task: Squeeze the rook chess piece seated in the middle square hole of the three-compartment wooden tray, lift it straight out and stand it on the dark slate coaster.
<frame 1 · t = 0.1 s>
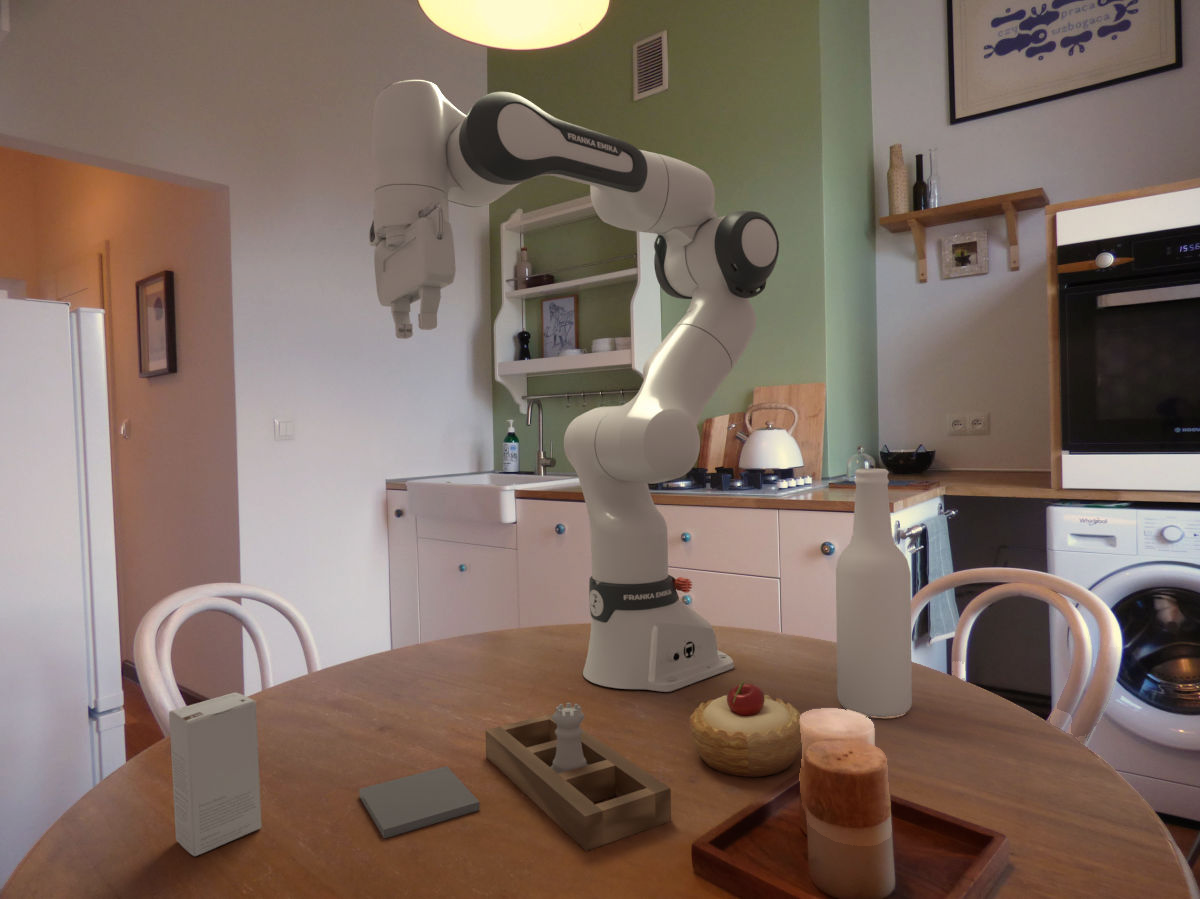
hand: (415, 333, 92), 48 cm above the table, tool pointing down, fingers open, 8 cm apart
coaster: (418, 803, 73), on the table
skincare box: (218, 839, 67), on the table
alcohol: (874, 708, 95), on the table
pastry: (746, 760, 81), on the table
three-compartment wooden tray: (570, 785, 76), on the table
rook chess piece: (570, 788, 76), resting in three-compartment wooden tray
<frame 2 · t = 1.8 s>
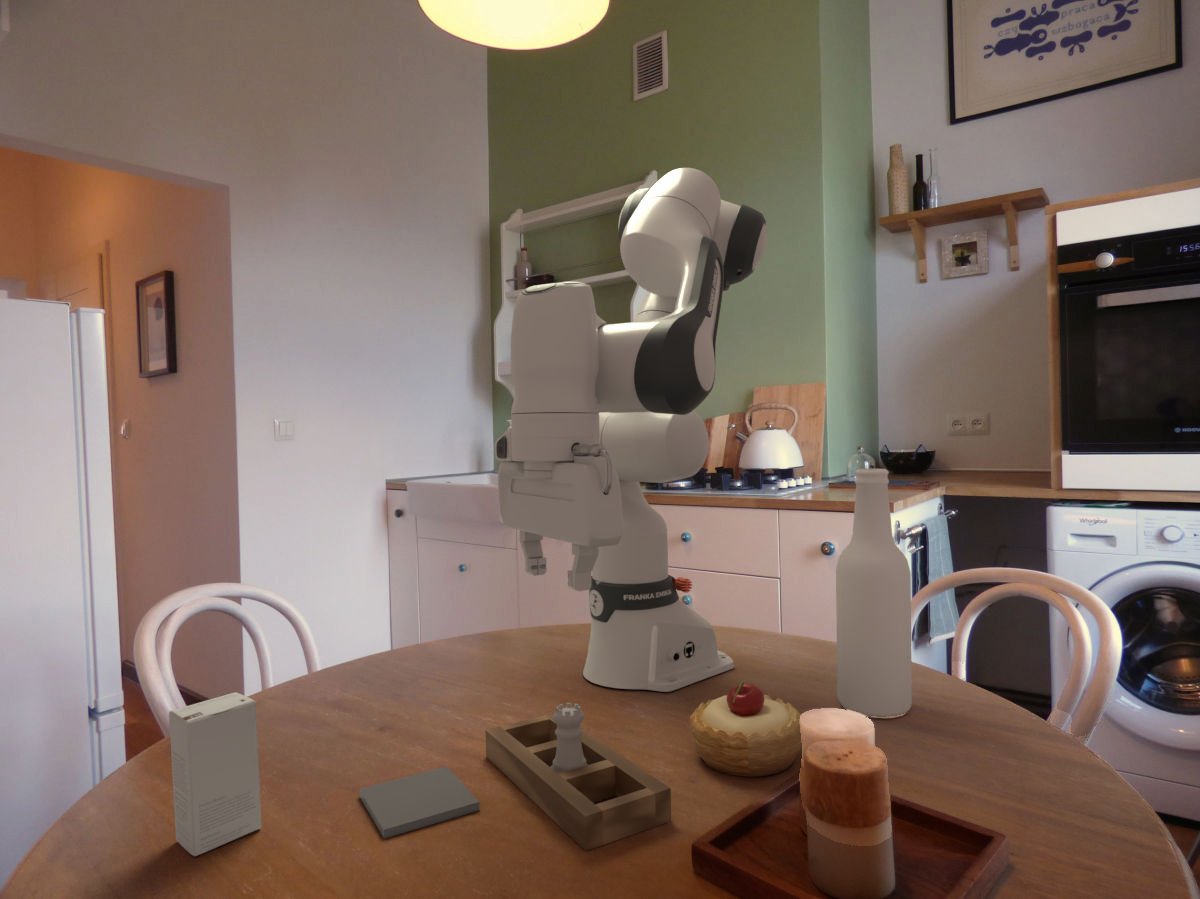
hand: (556, 581, 75), 21 cm above the table, tool pointing down, fingers open, 8 cm apart
nothing on the table moved.
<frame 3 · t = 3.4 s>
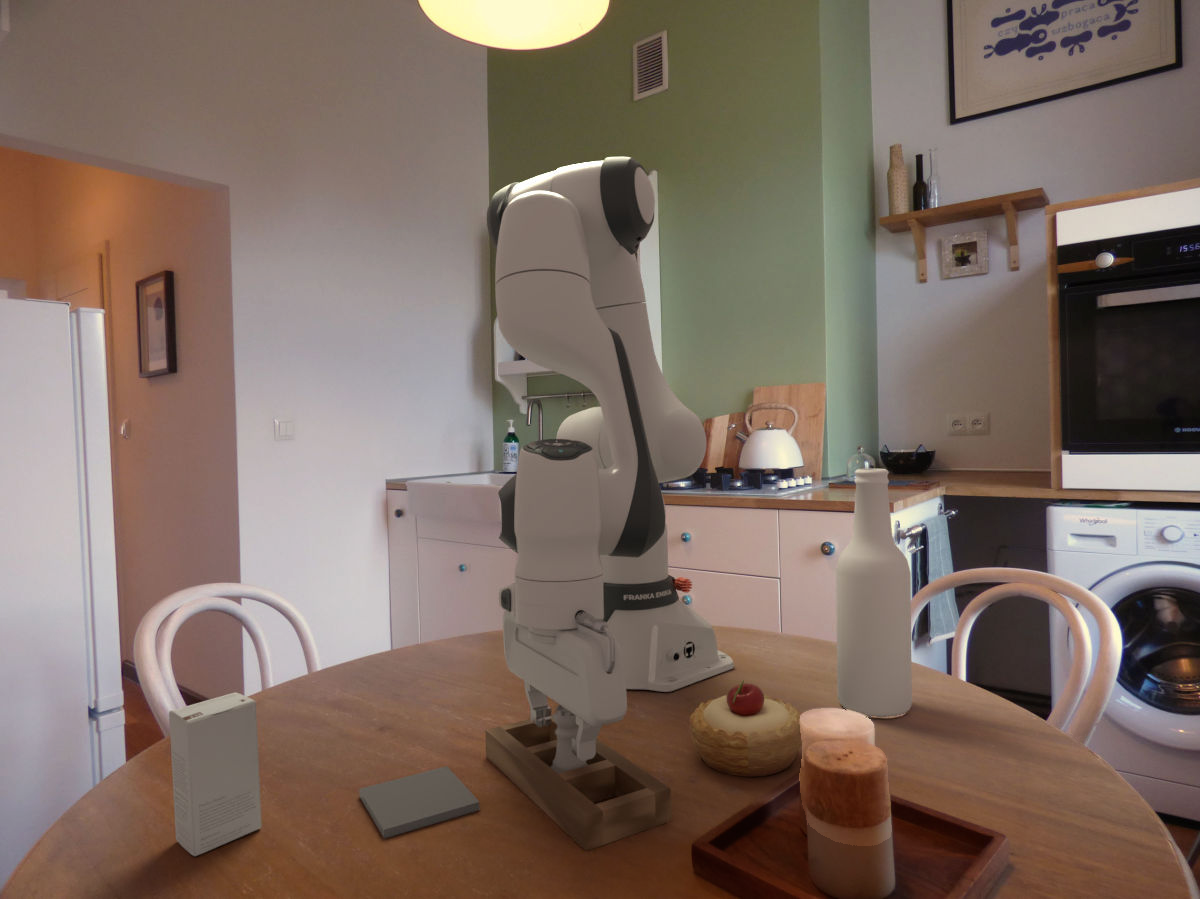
hand: (561, 739, 75), 5 cm above the table, tool pointing down, fingers open, 8 cm apart
nothing on the table moved.
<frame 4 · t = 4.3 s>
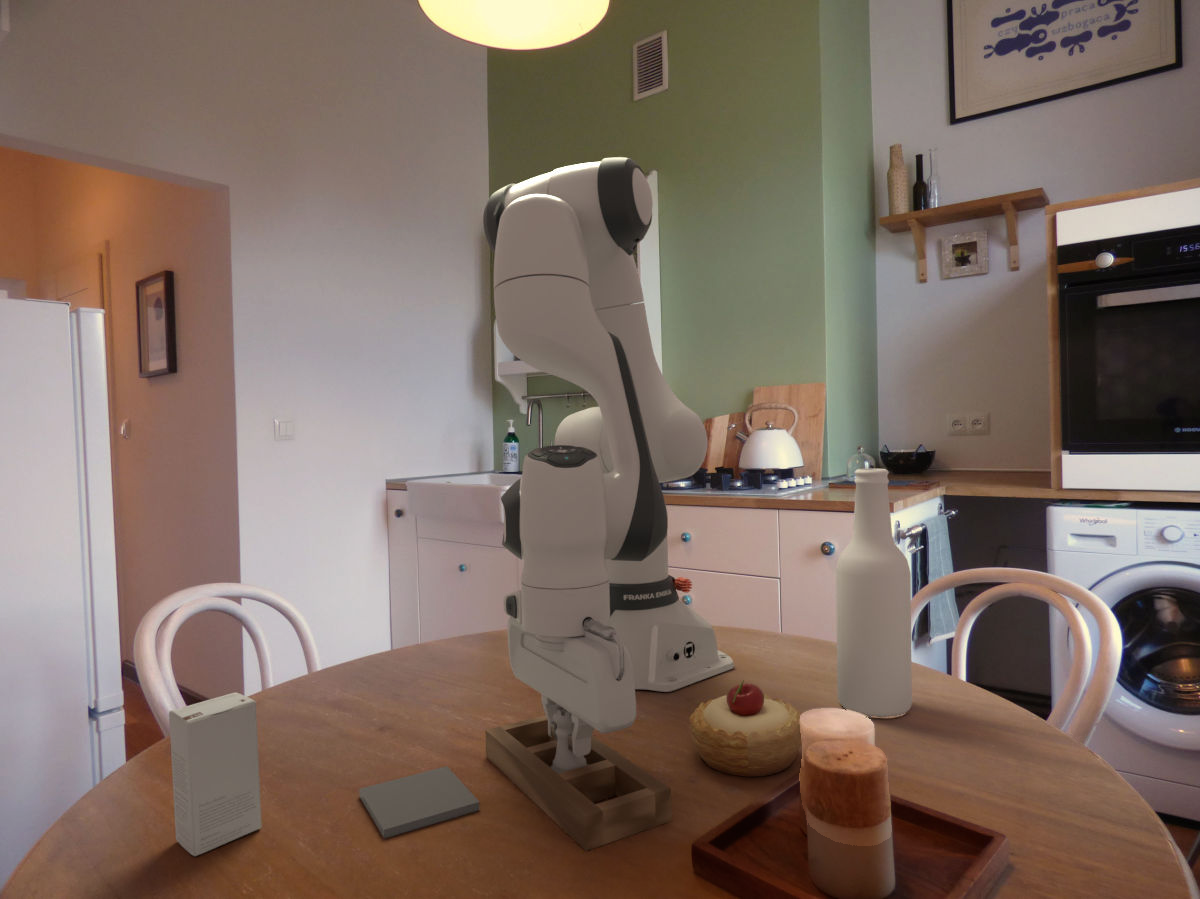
hand: (569, 745, 76), 4 cm above the table, tool pointing down, fingers closed on rook chess piece, 3 cm apart
rook chess piece: (570, 787, 76), resting in three-compartment wooden tray, touching gripper
everything else where it was.
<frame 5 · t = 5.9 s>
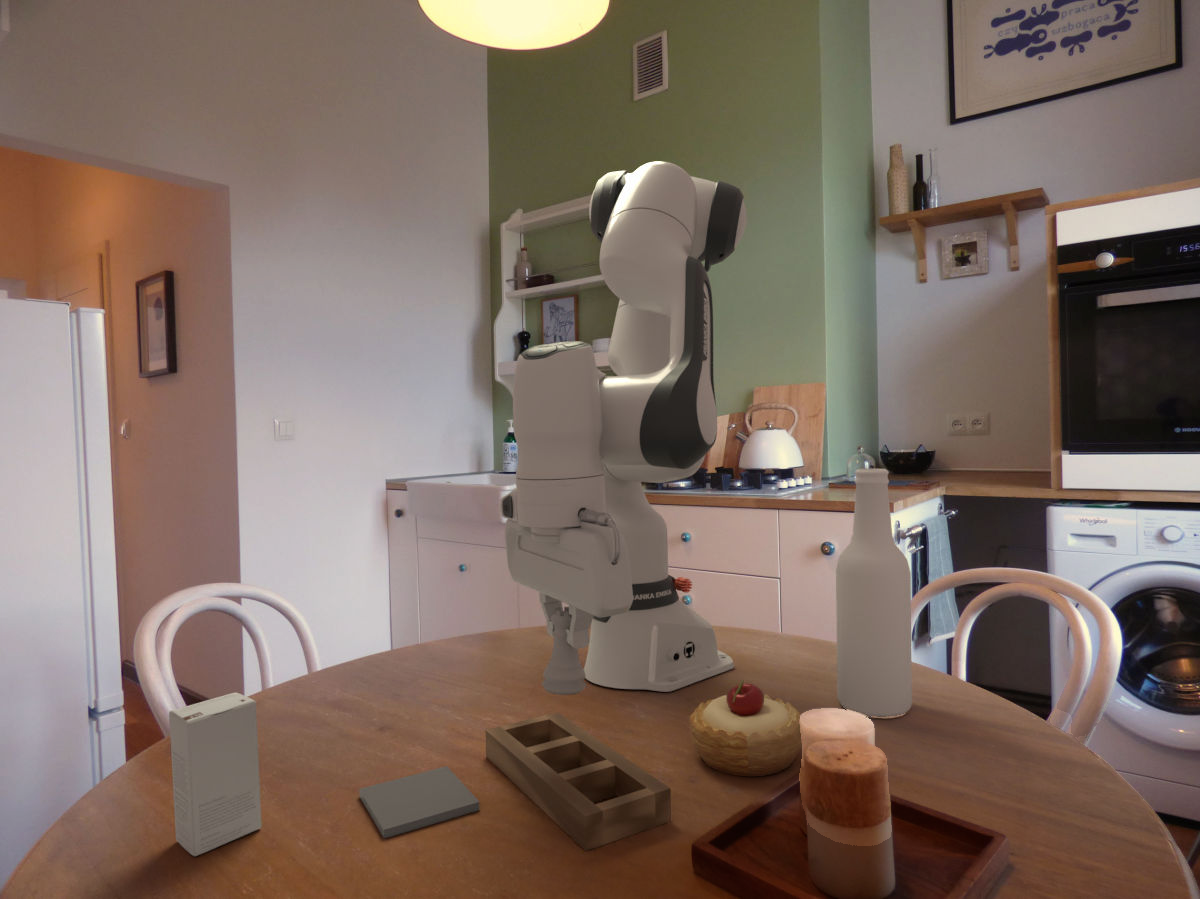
hand: (567, 641, 76), 15 cm above the table, tool pointing down, fingers closed on rook chess piece, 3 cm apart
rook chess piece: (563, 690, 76), point 10 cm above the table, touching gripper
everything else where it was.
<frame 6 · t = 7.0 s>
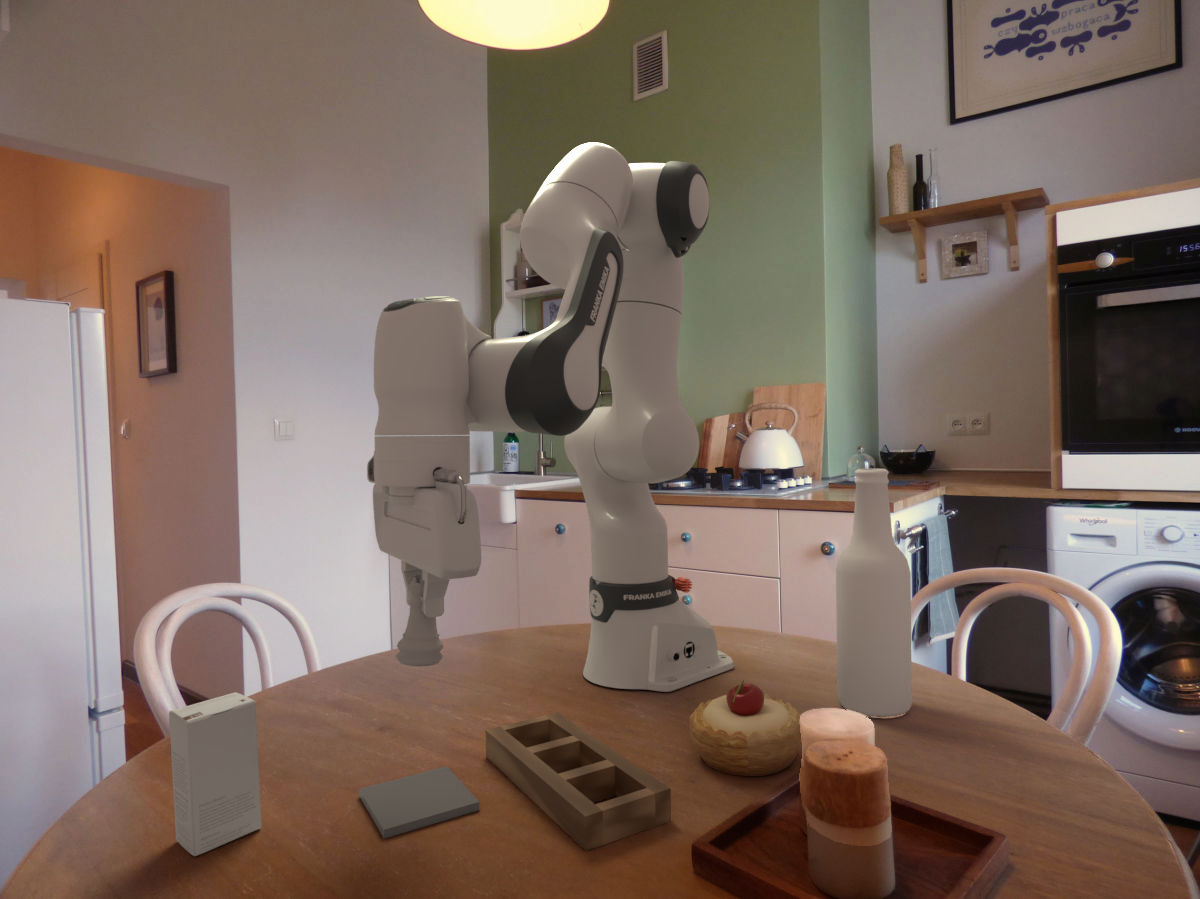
hand: (424, 611, 72), 19 cm above the table, tool pointing down, fingers closed on rook chess piece, 3 cm apart
rook chess piece: (419, 663, 72), point 14 cm above the table, touching gripper
everything else where it was.
when the fingers open (7 cm above the table, at t = 9.9 s): rook chess piece drops 1 cm, resting on coaster.
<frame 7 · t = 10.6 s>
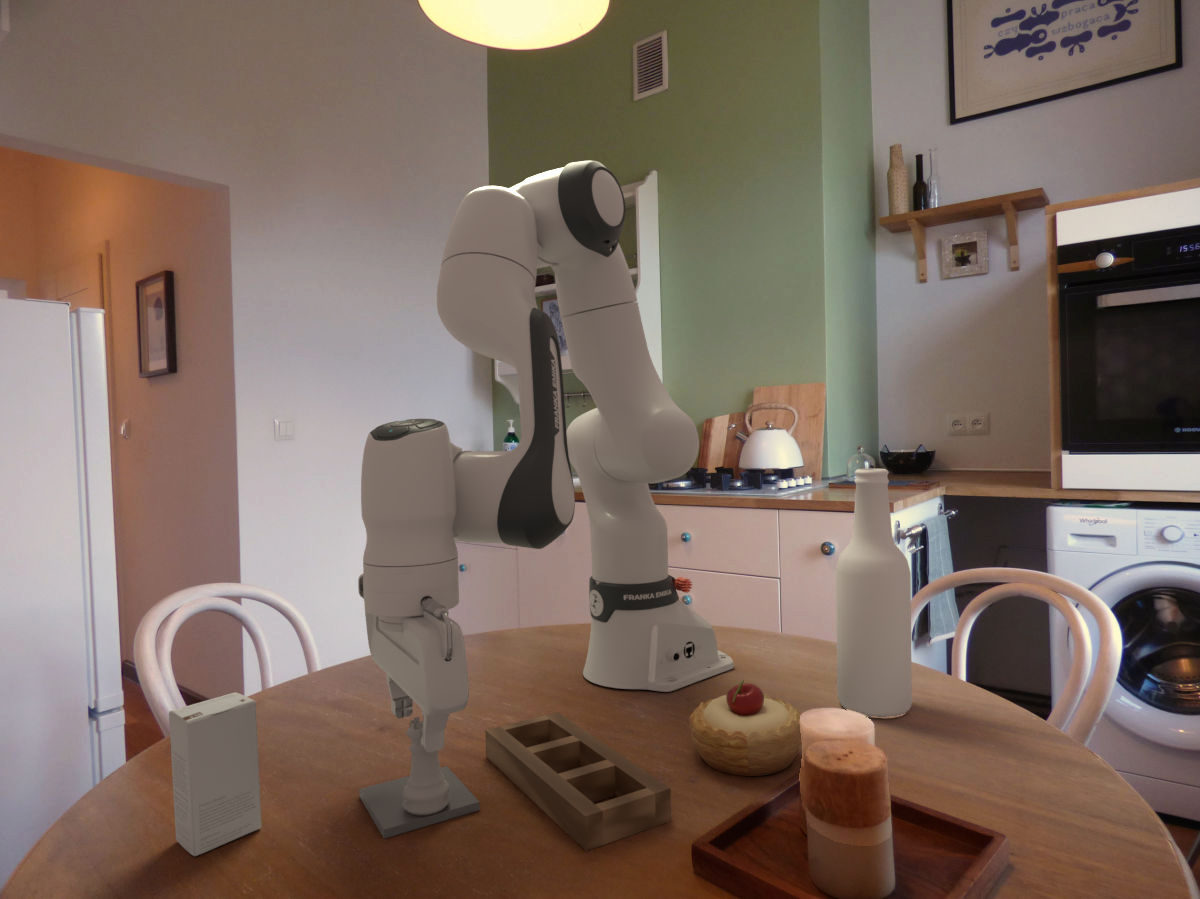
hand: (416, 731, 73), 7 cm above the table, tool pointing down, fingers open, 8 cm apart
rook chess piece: (427, 807, 70), point 1 cm above the table, touching coaster, gripper
everything else where it was.
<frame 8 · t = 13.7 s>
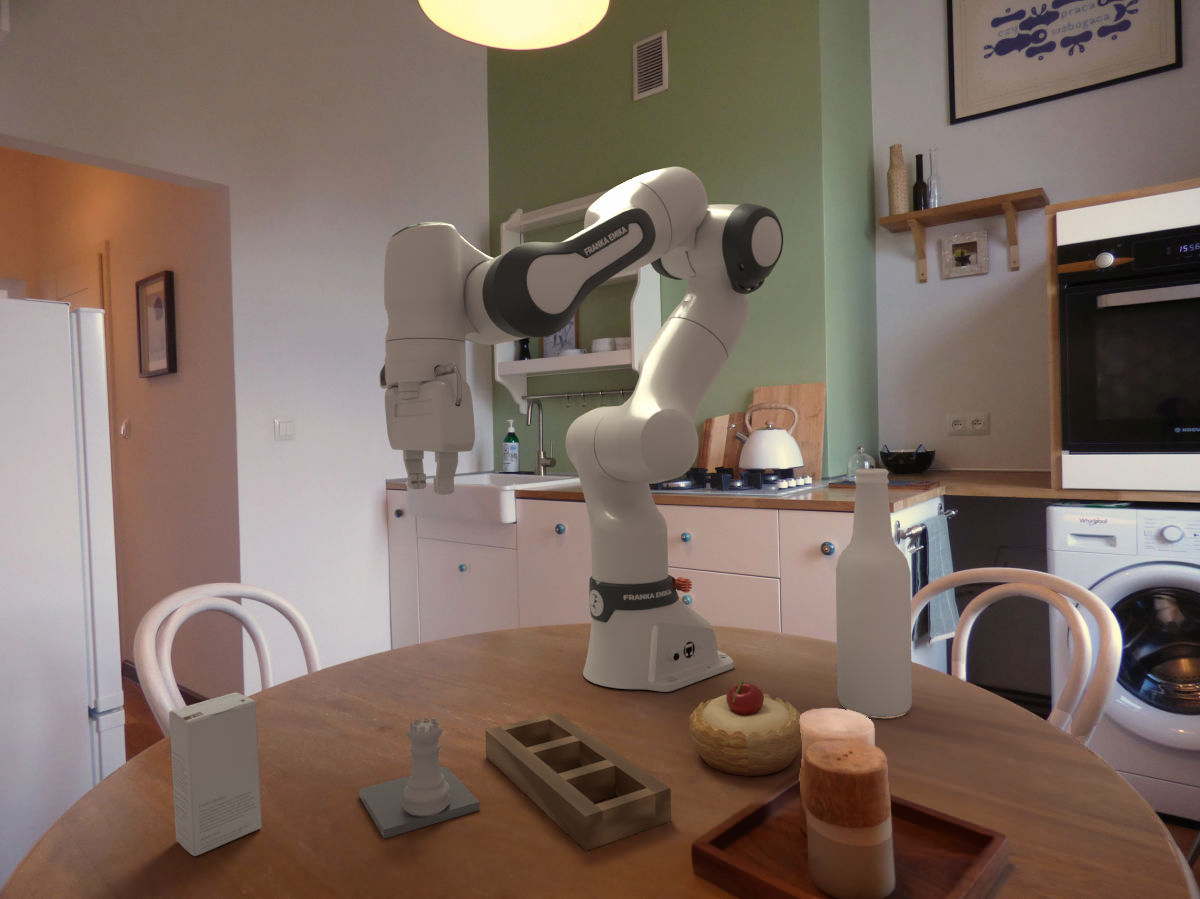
hand: (430, 491, 85), 29 cm above the table, tool pointing down, fingers open, 8 cm apart
rook chess piece: (427, 808, 70), point 1 cm above the table, touching coaster
everything else where it was.
at the end: rook chess piece inside the target area on the coaster (2.6 cm from its centre), point 0.6 cm above the coaster's base; rook chess piece tilted 0°; the gripper is holding nothing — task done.
